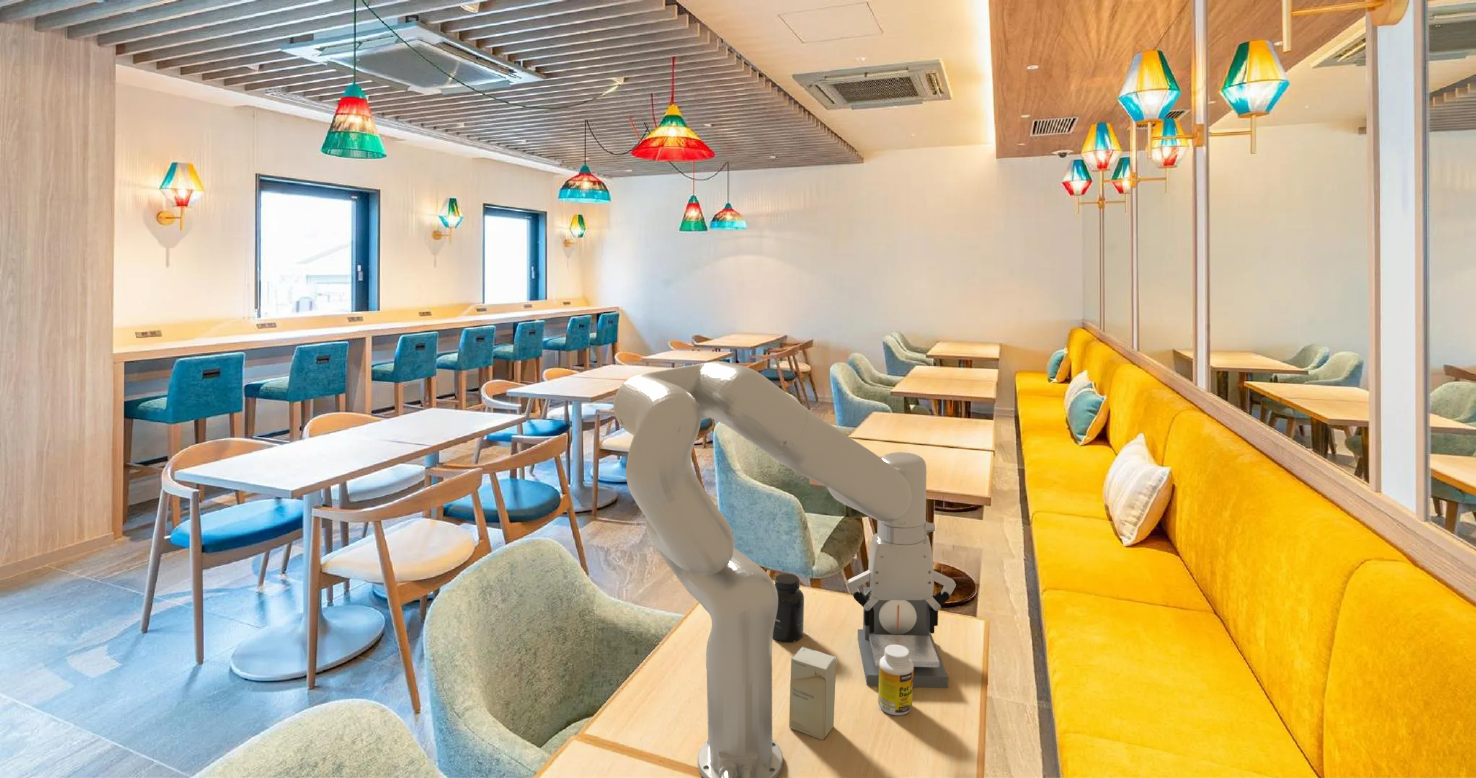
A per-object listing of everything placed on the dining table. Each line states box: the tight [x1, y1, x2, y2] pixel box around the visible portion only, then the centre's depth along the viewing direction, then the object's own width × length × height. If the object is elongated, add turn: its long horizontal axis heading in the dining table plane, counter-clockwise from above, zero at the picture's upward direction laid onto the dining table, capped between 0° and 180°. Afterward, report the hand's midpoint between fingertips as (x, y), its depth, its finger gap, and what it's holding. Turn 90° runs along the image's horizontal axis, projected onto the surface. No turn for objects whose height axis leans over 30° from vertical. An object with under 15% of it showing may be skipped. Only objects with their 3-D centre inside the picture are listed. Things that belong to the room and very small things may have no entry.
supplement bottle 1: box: [773, 573, 805, 643], centre depth 142 cm, size 7×7×12 cm
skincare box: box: [788, 646, 837, 741], centre depth 113 cm, size 6×4×12 cm
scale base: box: [857, 586, 949, 689], centre depth 132 cm, size 16×14×11 cm
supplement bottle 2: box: [877, 645, 914, 716], centre depth 118 cm, size 6×6×10 cm
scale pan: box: [870, 634, 939, 667], centre depth 129 cm, size 9×11×2 cm
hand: (900, 629), depth 117 cm, fingers open, 9 cm apart
